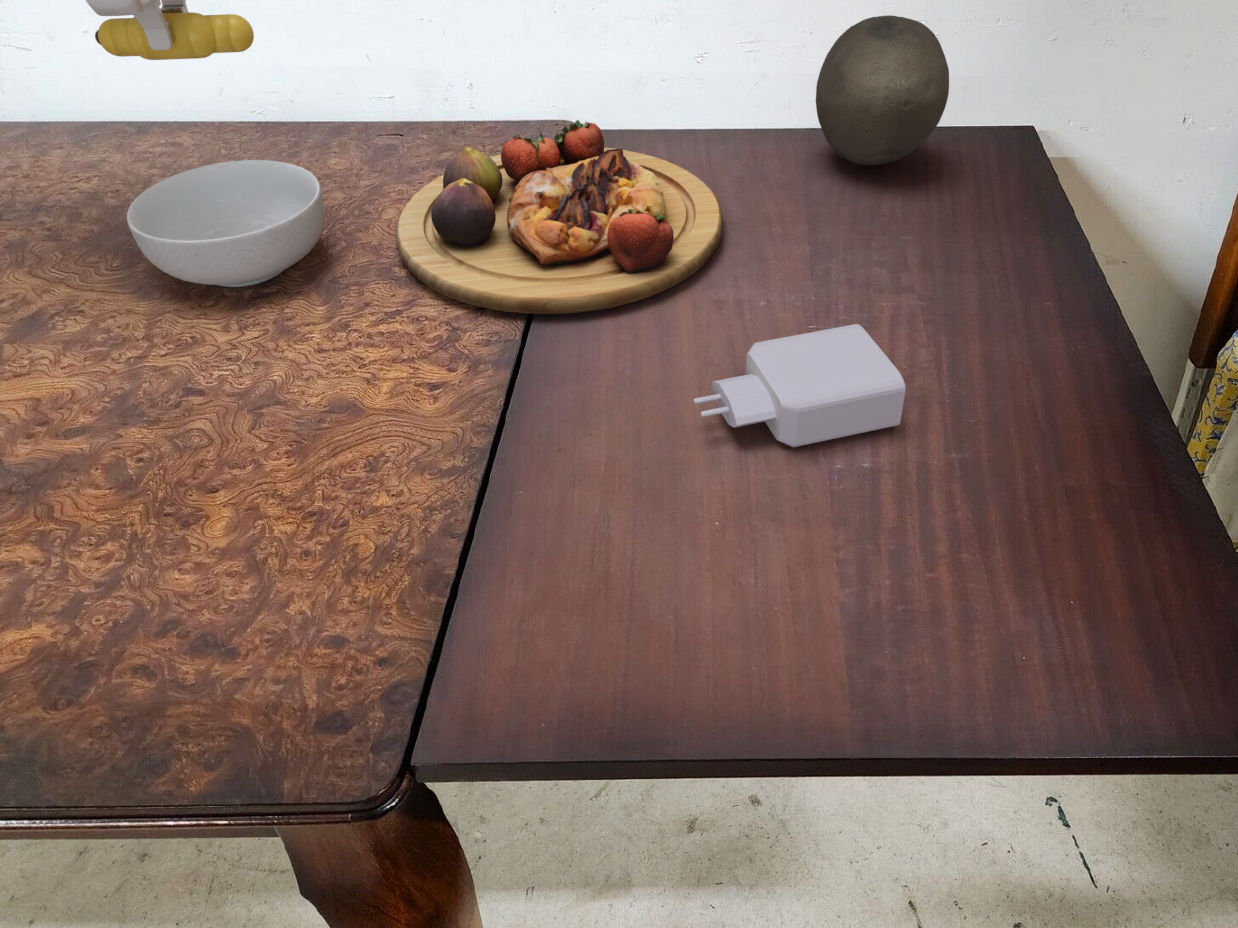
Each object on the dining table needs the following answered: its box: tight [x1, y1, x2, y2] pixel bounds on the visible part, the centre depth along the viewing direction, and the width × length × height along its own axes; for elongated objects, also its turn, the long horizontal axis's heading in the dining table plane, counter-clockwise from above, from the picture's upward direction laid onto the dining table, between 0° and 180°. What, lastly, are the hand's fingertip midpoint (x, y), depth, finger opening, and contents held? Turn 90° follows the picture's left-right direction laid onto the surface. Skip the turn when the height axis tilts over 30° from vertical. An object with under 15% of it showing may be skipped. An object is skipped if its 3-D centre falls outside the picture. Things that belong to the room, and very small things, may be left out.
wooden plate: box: [395, 119, 724, 315], centre depth 105 cm, size 32×32×8 cm
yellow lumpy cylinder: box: [94, 11, 255, 61], centre depth 93 cm, size 13×4×4 cm, turn 94°
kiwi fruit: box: [815, 14, 950, 166], centre depth 114 cm, size 14×14×15 cm
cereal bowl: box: [126, 159, 326, 288], centre depth 101 cm, size 17×17×7 cm
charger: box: [693, 323, 907, 448], centre depth 84 cm, size 5×9×15 cm
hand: (171, 37), depth 93 cm, fingers closed on yellow lumpy cylinder, 3 cm apart
